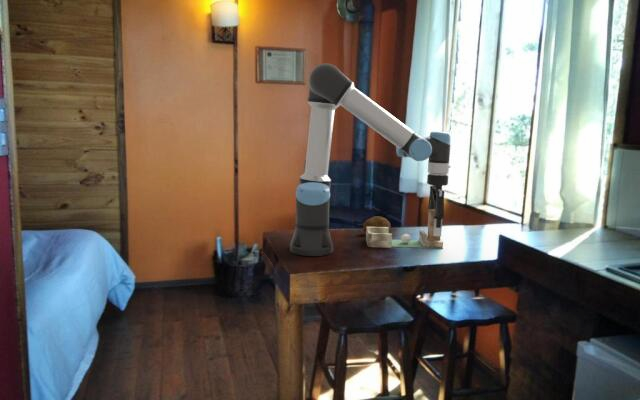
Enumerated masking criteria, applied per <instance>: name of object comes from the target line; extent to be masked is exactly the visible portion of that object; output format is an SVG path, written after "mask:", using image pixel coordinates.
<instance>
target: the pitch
mask: <svg viewBox="0 0 640 400" xmlns="http://www.w3.org/2000/svg"><path fill="white" fill-rule="evenodd" d="M391 248H409V249H410V248H411V249H413V248H414V249H440V250H443V248H444V247H426V246H423V245H422V244H421V242H420V241H419V239H418V240H417V239H413V240H412V239H411V240H410V242H409V243H406V244H405V243H403V242H402V241H401V239H392V245H391Z"/></svg>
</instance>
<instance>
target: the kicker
mask: <svg viewBox="0 0 640 400" xmlns="http://www.w3.org/2000/svg"><path fill="white" fill-rule="evenodd" d="M439 215H440V214H439ZM428 216H429V221H427V233H426V232H425V230H424V229H419V231H418V232H419V235H418V240H419V241H420V242H421V244H422V245H423V246H426V247H442V248H444V241H443V240H442V239H441V236H433V232H434V219H433V217H434V216H435V209H429V211H428Z"/></svg>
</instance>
